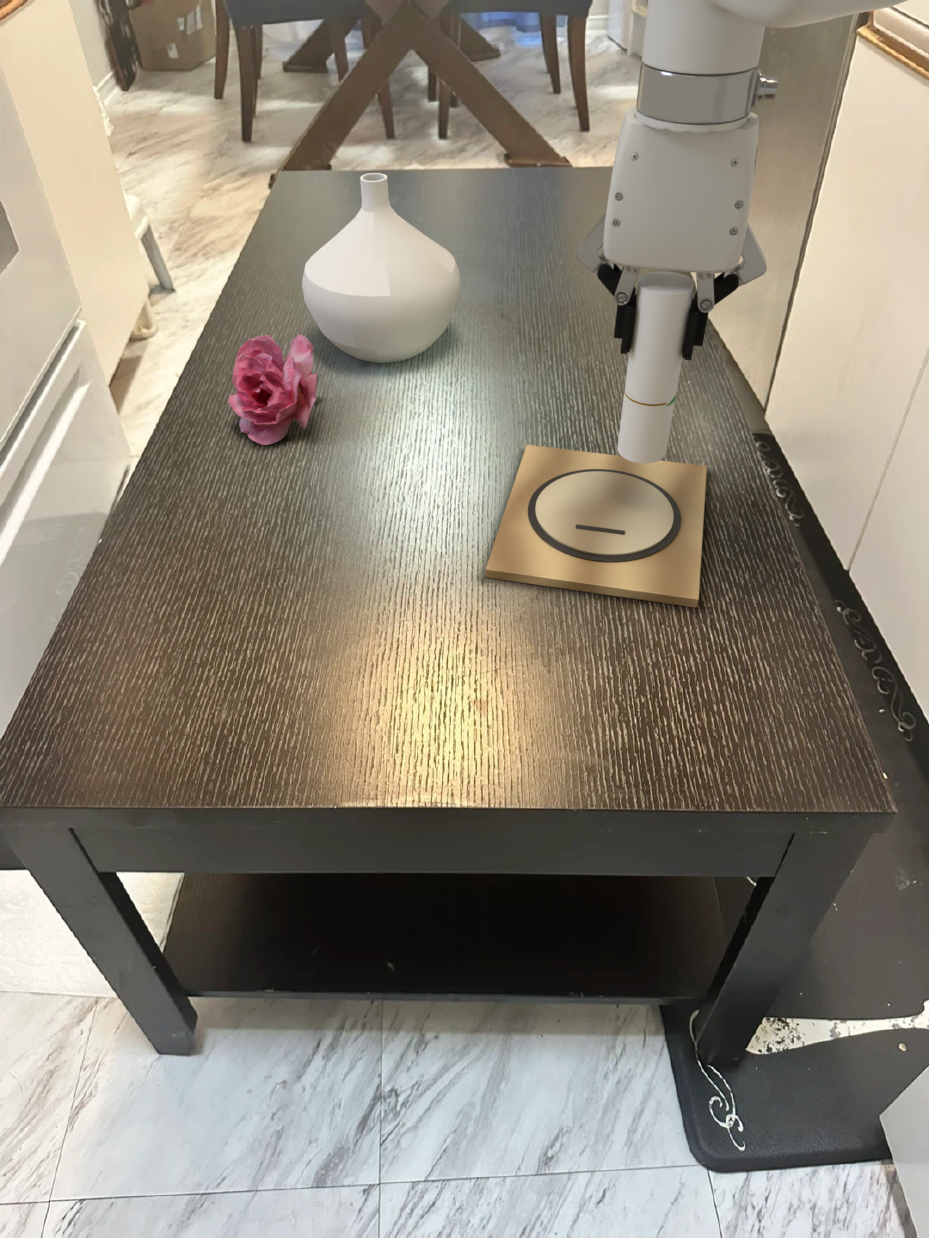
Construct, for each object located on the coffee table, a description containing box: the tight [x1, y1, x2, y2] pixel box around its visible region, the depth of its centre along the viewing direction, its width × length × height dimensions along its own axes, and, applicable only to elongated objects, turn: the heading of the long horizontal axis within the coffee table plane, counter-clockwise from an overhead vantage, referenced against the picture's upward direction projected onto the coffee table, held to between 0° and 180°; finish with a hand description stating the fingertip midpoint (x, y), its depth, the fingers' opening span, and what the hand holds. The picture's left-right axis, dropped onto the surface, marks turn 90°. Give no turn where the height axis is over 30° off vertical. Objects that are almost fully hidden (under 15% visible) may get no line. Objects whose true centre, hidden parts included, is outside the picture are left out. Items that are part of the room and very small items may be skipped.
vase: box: [301, 172, 461, 364], centre depth 102 cm, size 18×18×19 cm
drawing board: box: [485, 444, 708, 609], centre depth 82 cm, size 18×20×2 cm
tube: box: [616, 270, 696, 463], centre depth 73 cm, size 4×4×15 cm
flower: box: [227, 333, 319, 446], centre depth 93 cm, size 11×10×10 cm
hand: (656, 347), depth 72 cm, fingers closed on tube, 4 cm apart
